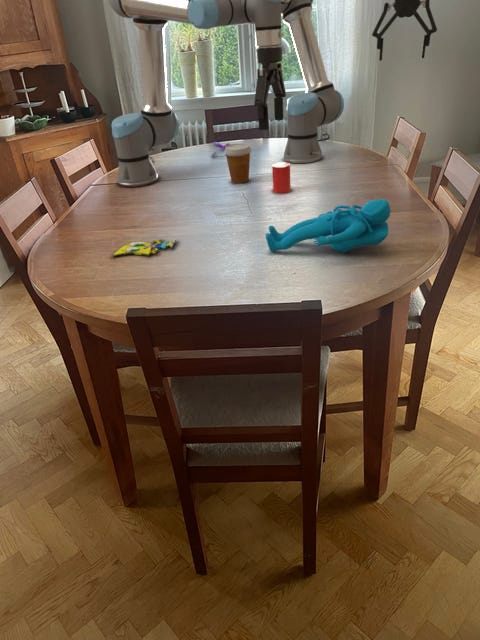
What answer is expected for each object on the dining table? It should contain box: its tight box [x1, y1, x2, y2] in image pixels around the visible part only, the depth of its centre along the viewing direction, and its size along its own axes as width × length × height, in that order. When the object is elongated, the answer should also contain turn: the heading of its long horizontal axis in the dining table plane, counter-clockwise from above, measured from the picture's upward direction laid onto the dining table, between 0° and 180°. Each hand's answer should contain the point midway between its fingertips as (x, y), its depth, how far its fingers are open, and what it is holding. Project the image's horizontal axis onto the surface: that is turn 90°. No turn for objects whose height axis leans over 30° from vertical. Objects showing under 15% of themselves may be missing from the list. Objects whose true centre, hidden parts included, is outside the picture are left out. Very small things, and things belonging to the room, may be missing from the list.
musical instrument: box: [211, 141, 233, 158], centre depth 212 cm, size 24×2×20 cm
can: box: [271, 161, 292, 194], centre depth 159 cm, size 6×6×9 cm
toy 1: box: [112, 238, 177, 258], centre depth 129 cm, size 10×1×15 cm
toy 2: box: [265, 198, 392, 254], centre depth 118 cm, size 17×11×30 cm
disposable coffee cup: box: [223, 142, 252, 184], centre depth 171 cm, size 10×10×12 cm
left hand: (271, 124), depth 150 cm, fingers open, 13 cm apart
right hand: (401, 59), depth 162 cm, fingers open, 13 cm apart
